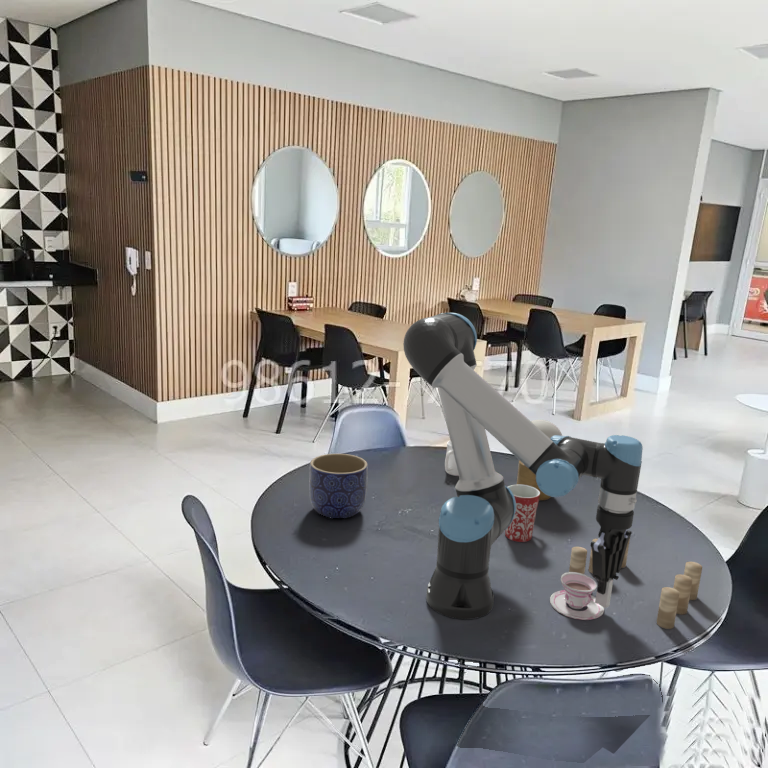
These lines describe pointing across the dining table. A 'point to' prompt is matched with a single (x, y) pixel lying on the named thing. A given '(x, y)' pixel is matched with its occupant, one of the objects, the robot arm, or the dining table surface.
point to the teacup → (577, 597)
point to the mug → (523, 513)
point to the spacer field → (670, 597)
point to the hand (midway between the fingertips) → (602, 604)
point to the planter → (338, 484)
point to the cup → (450, 461)
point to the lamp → (524, 472)
